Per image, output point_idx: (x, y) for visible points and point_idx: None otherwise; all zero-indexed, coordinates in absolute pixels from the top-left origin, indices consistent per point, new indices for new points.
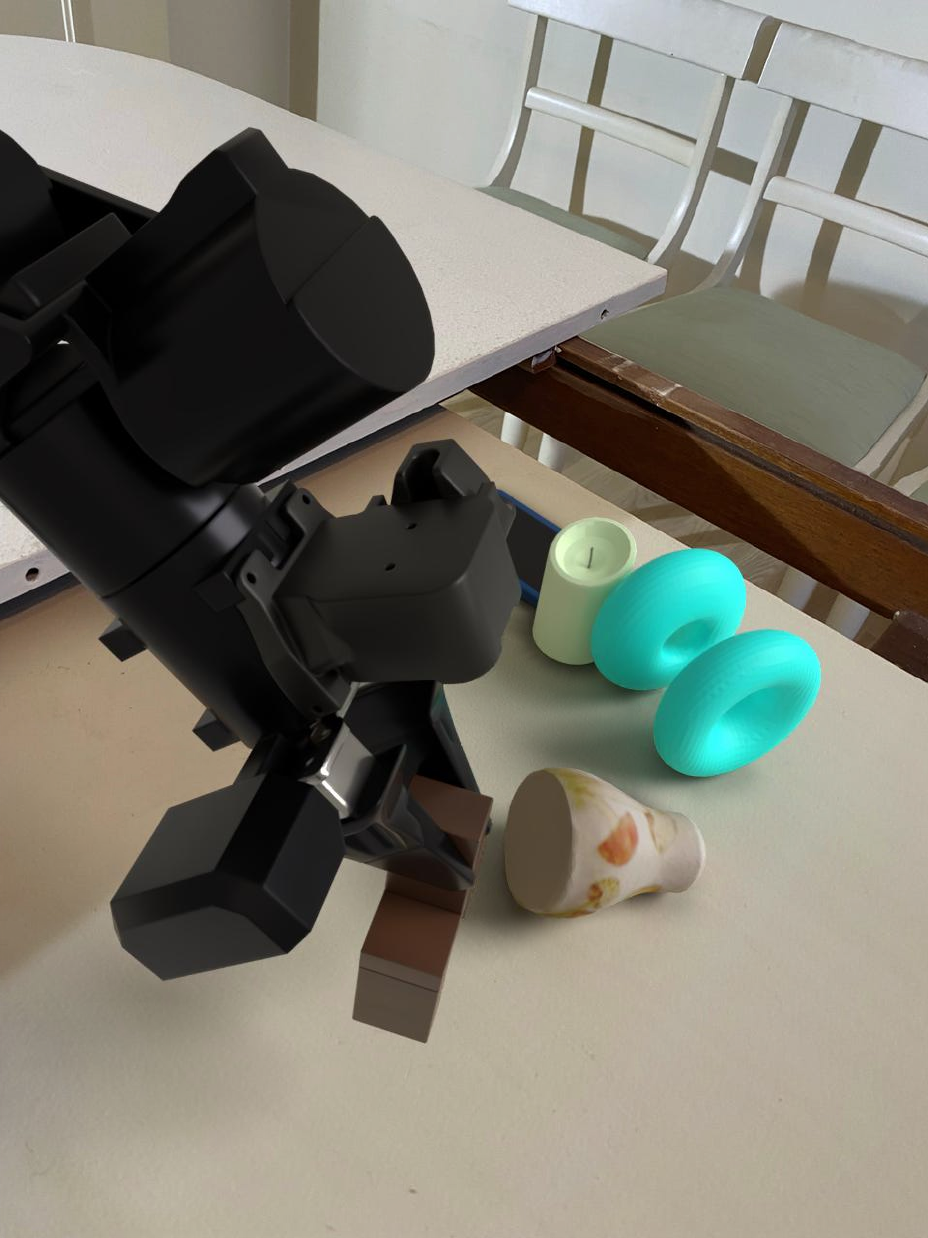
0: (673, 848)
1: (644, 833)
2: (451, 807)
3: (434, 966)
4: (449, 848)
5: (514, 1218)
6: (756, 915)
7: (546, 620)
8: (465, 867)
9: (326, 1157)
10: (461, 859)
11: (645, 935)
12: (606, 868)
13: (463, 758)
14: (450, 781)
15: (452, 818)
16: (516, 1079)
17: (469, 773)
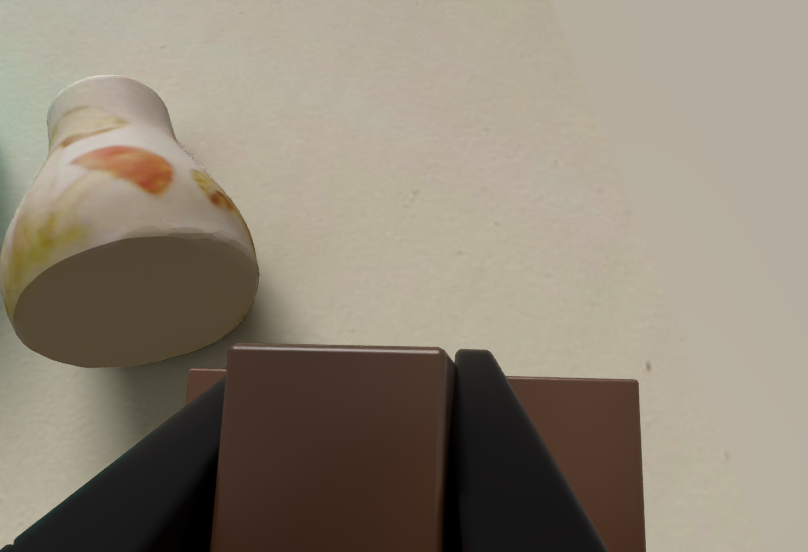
0: (113, 108)
1: (102, 140)
2: (320, 498)
3: (618, 405)
4: (492, 457)
5: (634, 242)
6: (173, 33)
7: None
8: (476, 384)
9: (650, 486)
10: (468, 403)
11: (236, 156)
12: (182, 182)
13: (80, 511)
14: (194, 532)
15: (375, 481)
16: (473, 275)
17: (136, 464)
